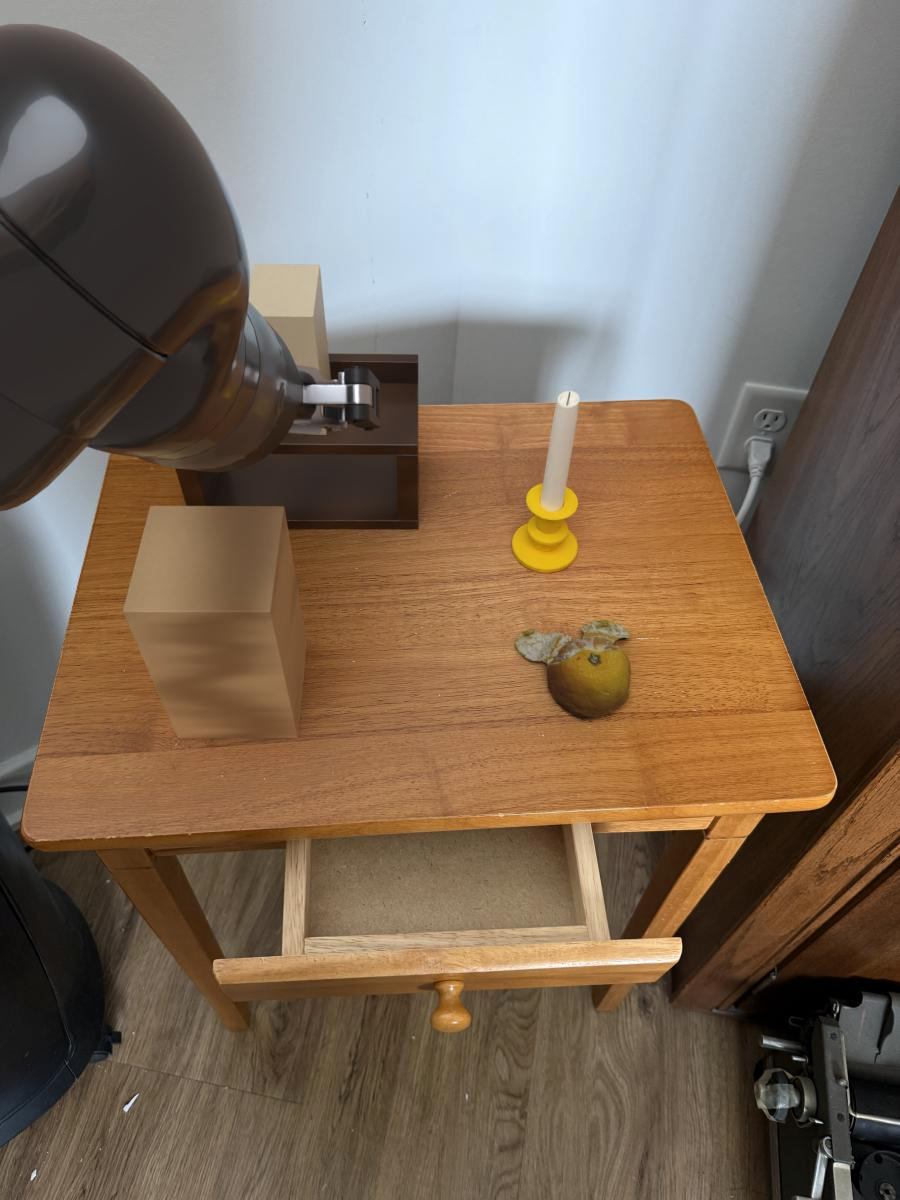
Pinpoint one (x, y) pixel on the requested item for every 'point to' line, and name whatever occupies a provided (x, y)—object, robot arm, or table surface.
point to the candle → (552, 500)
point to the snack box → (294, 311)
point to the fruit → (583, 667)
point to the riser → (220, 620)
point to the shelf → (336, 463)
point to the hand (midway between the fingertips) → (262, 412)
